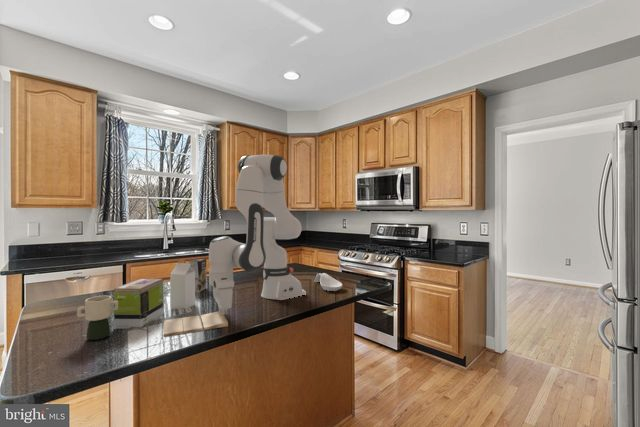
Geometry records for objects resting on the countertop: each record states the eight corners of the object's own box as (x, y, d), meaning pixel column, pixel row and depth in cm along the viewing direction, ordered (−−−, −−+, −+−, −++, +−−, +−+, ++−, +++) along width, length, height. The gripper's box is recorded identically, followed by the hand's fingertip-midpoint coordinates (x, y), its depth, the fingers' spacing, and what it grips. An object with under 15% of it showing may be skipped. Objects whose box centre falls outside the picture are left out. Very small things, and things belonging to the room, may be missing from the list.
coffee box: (199, 292, 153) (200, 261, 153) (187, 292, 153) (187, 261, 153) (206, 288, 162) (207, 258, 162) (195, 288, 163) (195, 258, 162)
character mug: (115, 330, 104) (115, 293, 104) (120, 336, 99) (120, 297, 99) (75, 339, 97) (75, 299, 97) (78, 346, 92) (78, 304, 92)
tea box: (139, 314, 120) (140, 278, 120) (164, 315, 120) (164, 278, 120) (112, 329, 105) (113, 287, 105) (140, 329, 105) (141, 287, 105)
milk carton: (184, 310, 126) (185, 265, 126) (170, 309, 127) (170, 264, 127) (195, 305, 133) (195, 262, 133) (180, 304, 134) (181, 261, 134)
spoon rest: (346, 292, 157) (346, 278, 157) (326, 294, 152) (326, 280, 152) (326, 282, 179) (326, 270, 179) (308, 284, 174) (308, 272, 174)
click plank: (222, 314, 119) (221, 310, 119) (228, 326, 107) (228, 322, 107) (200, 319, 116) (199, 315, 116) (203, 332, 103) (203, 327, 103)
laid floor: (198, 319, 115) (198, 315, 115) (202, 332, 103) (202, 328, 103) (164, 324, 110) (164, 320, 110) (163, 338, 98) (163, 334, 98)
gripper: (208, 274, 123) (209, 308, 124) (217, 285, 105) (217, 324, 106) (224, 273, 126) (225, 305, 127) (235, 283, 108) (235, 321, 109)
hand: (221, 314), depth 116 cm, fingers closed, pressing on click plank
